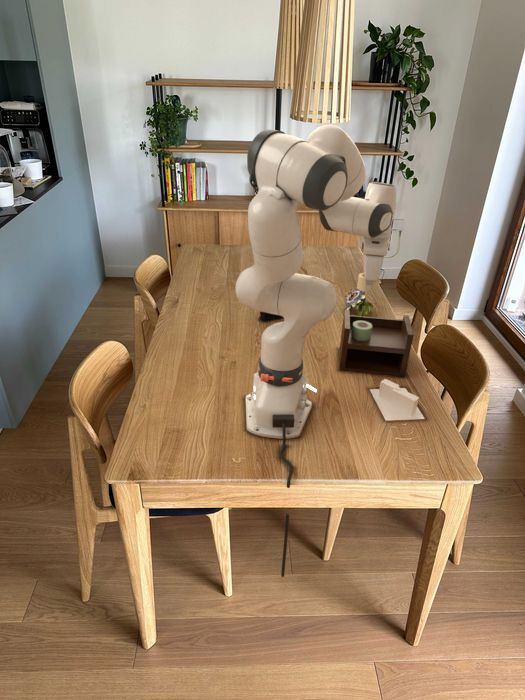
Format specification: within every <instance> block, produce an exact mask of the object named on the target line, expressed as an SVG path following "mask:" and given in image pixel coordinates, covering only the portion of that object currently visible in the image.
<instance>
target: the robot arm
mask: <svg viewBox="0 0 525 700" xmlns="http://www.w3.org/2000/svg"><path fill="white" fill-rule="evenodd" d="M364 161H365V160H364V159H363V157H362V154H361V151H360V150H359V149H358V147H357V144H356V143H355V142H354V140H353V139H352V138H351V137H350V135H349V134H348V133H347V132H346V131H345V130H344V129H342V128H341V127H340V126H338V125H335V124H325V125H321V126H319V127H317V128H315V130H313V131H311V133H310V134H309V136H308V137H307V139H306V140H305V139H303V138H300V137H297V136H295V135H291V134H288V133H286V132H284V131H282V130H278V129H265V130H264V129H263V130H262V131H260V132H259V133H258V134H256V135H255V137H254V138H253V139H252V141H251V142H250V144H249V146H248V149H247V154H246V164H247V165H246V166H247V172H248V174H249V178H248V179H249V184H250V186H251V188H253V189H254V190H255V191H256V192H257V193H256V195H255V196H254V197H253V198H252V200H250V202H249V204H248V207H247V226H248V227H247V229H248V238H249V242H250V247H251V250H252V257H253V265H252V266H249V267H247V268H245V269H244V270H243V271H242V272H241V273H240V274H239V275H238V277H237V279H236V282H235V288H234V289H235V295H236V298H237V300H238V302H239V304H241V305H242V306H245V307H247V308H249V309H252V310H254V311H256V312H259V313H260V312H265V313H270V314H275V315H280V316H283V317H284V318H283V321H279V322H276V323H273V324H271V325H269V326H267V328H265V329H264V331H263V332H262V334H261V339H260V340H261V341H260V343H261V344H260V357H259V359H258V364H257V365H258V366H257V367H258V368H257V370H258V371H256V372H255V373H253V386H252V387H253V389H252V391H251V392H250V393H248V394H246V395H245V398H244V399H245V400H244V401H245V423H246V424H245V425H246V426H245V427H246V431H247V432H249V433H251V434H254V435H255V436H258V437H263V438H270V439H276V440H277V439H279V440H282V445H281V448H280V451H279V457H280V459H281V460H282V462H284V463H285V464H286V465H287V466H288V468H289V472H288V475H287V480H286V488H287V489H290V488H291V481H292V477H293V473H294V468H293V465H292V463H291V462H290V460H288V459H287V458H286V457H285V456H284V451H285V449H286V446H287V445H286V444H287V443H286V442H287V440H288V439H294V438H298V437H300V435H301V433H302V431H303V429H304V427H305V424H306V422H307V419H308V417H309V415H310V412H311V410H312V408H313V402H312V401H311V400H309V399H308V398H307V393H308V389H309V390H311V391H312V392H315V393H317V389H316V388H315V387H313V386H312V385H310V384H308V379H307V378H306V377H305V376H304V375H303V373H304V360H303V354H304V347H305V341H306V338H307V336H308V334H309V332H310V331H311V330H312V329H313V328H314V327H315V326H316V325H318V324H320V323H322V322H325V321H326V320H328V319H329V318H330V317H331V316H332V314H333V313H334V312H335V309H336V307H337V304H338V303H337V302H338V296H337V290H336V288H335V286H334V285H333V283H332V282H329V281H327V280H325V279H323V278H320V277H317V276H314V275H308V274H302V273H298V272H299V270H300V269H301V267H302V265H303V263H304V248H303V243H302V231H301V227H300V222H299V218H298V214H297V211H298V206H299V204H302V205H305V207H307V208H308V209H311V210H315V211H318V217H319V221H320V225H322V227H323V228H324V230H326V231H327V232H328V231H329V232H339V233H344V234H348V235H352V236H358V241H357V244H358V246H359V247H360V249H361V252H362V262H363V272H364V279H365V281H366V283H365V290H371V287H372V283H373V282H377V281H378V282H379V280H378V278H379V279H380V275H381V271H382V267H383V263H384V258H385V257H386V256H387V254H388V249H389V248H390V243H391V238H392V237H391V236H392V229H393V228H392V223H393V220H394V218H395V213H396V204H397V187H396V186H395V185H394V184H392V183H385V182H379V181H371V182H369V183H368V185H367V189H366V191H365V196H364V198H362V197H355V195H356V194H358V193H359V191H360V190H361V189H362V187H363V185H364V183H365V181H366V174H367V171H366V169H367V168H366V165H365V162H364ZM284 523H285V525H284V539H283V550H282V561H281V572H280V573H281V575H280V576H281V577H282V578H284V577H285V570H286V559H287V548H288V538H289V525H290V514H288V513H287V514H285V522H284Z"/></svg>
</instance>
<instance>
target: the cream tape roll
mask: <svg viewBox="0 0 525 700" xmlns="http://www.w3.org/2000/svg"><path fill="white" fill-rule="evenodd" d="M379 279H380V277H379V278H378V281H377V282H373V283H372V287H371V290H365V283H366V281H365V279H364V271H363V272H360V273H359V274H358V277H357V283H356V289H357V290H358V289H359V290H361V291H364V293H374V292H377V290H378V285H379Z"/></svg>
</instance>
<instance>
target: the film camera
mask: <svg viewBox="0 0 525 700" xmlns="http://www.w3.org/2000/svg"><path fill="white" fill-rule="evenodd" d="M281 319H284V317H283V316H280V315H275V314H270V313H265V312H260V311H259V320H260V321H261V322H269V321H275V320H281Z"/></svg>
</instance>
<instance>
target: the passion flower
mask: <svg viewBox="0 0 525 700" xmlns="http://www.w3.org/2000/svg"><path fill="white" fill-rule="evenodd" d="M365 293H366V292H364V291H361V290H359V289H358V288H356V289H353V288H351V289H349V290H348V291H347V292H346V293H345V298H346V299H345V305H346V307H347V308H346V309H345V310H350V311H351V310H352V309H353V308H356V311H357V316H362V315H363V317H368V315H370V314H371V309H374V310H375V309H376V307H377V302H373V303H372V302H368V301H366V298H367V295H366V294H365ZM373 304H374V305H373Z"/></svg>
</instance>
